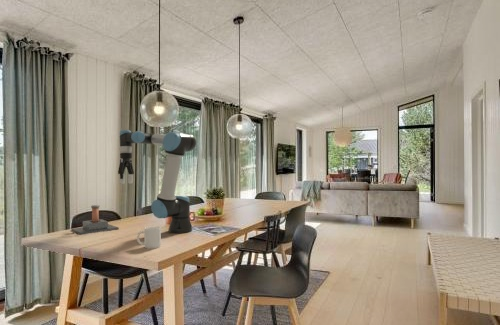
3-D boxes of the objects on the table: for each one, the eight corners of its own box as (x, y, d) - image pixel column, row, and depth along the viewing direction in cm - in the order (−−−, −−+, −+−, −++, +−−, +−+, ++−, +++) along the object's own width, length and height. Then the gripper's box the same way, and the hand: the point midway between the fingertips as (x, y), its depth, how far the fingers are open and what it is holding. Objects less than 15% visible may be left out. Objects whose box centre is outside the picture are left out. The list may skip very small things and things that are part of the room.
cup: (161, 248, 169) (161, 228, 169) (137, 250, 165) (137, 230, 165) (159, 244, 177) (159, 225, 177) (136, 246, 172) (136, 227, 172)
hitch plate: (108, 225, 231) (108, 217, 231) (118, 229, 219) (118, 220, 219) (71, 230, 215) (71, 221, 215) (80, 234, 202) (80, 225, 202)
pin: (97, 226, 220) (97, 204, 220) (100, 228, 217) (100, 205, 217) (90, 227, 217) (90, 205, 217) (92, 229, 213) (92, 206, 213)
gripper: (128, 154, 235) (128, 183, 234) (112, 151, 210) (112, 184, 209) (138, 153, 235) (138, 183, 234) (123, 151, 210) (124, 183, 209)
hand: (126, 183), depth 221 cm, fingers open, 13 cm apart
